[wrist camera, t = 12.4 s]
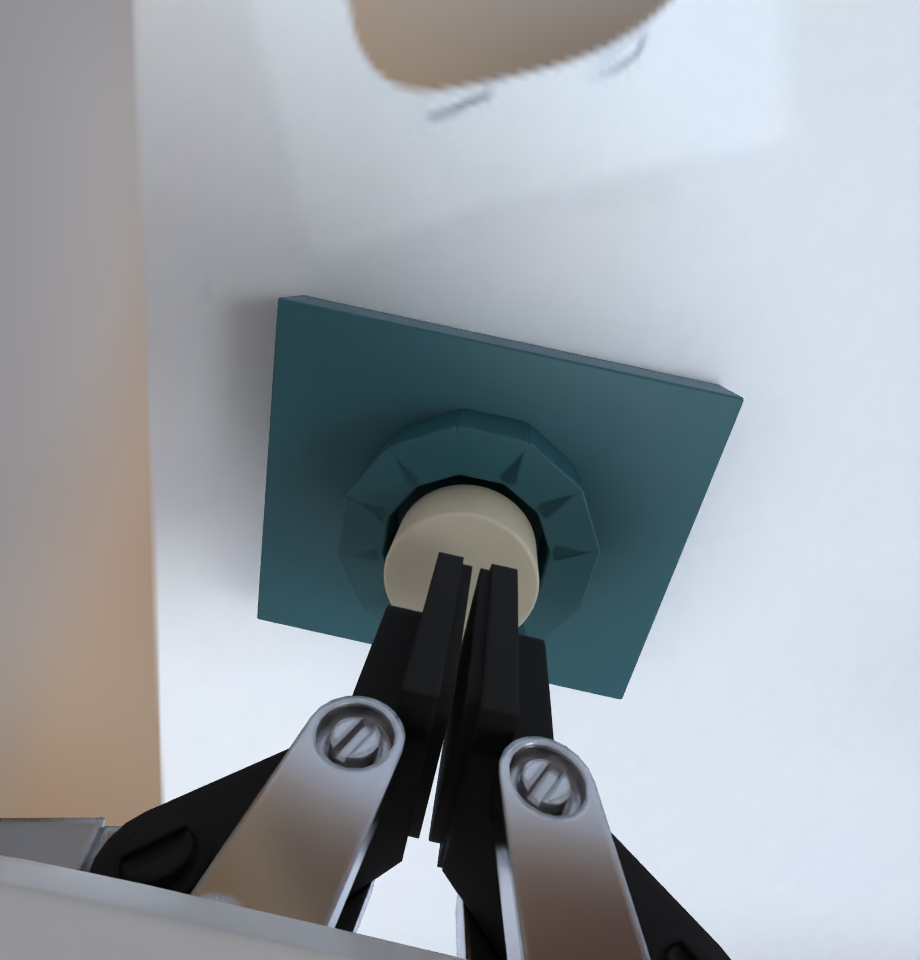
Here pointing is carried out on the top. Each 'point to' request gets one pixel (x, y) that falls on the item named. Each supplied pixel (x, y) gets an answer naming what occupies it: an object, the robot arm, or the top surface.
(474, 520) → the button
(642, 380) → the block
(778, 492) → the top surface
